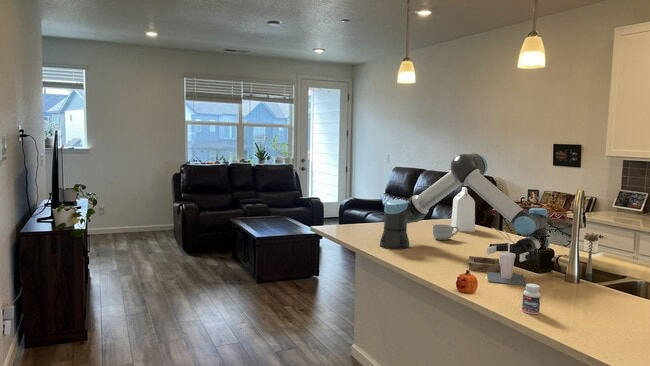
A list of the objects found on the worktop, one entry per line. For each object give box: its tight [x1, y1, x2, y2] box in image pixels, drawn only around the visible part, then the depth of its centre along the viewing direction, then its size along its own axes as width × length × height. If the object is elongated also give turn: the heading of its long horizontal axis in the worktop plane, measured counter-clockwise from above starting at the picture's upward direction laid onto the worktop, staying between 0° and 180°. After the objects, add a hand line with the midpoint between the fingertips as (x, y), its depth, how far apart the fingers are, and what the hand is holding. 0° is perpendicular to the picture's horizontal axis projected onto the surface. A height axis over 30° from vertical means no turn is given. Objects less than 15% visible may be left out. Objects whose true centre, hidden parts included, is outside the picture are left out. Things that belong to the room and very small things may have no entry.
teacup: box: [432, 223, 460, 241], centre depth 263 cm, size 14×11×8 cm
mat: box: [486, 271, 527, 287], centre depth 191 cm, size 14×14×1 cm
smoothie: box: [498, 242, 517, 279], centre depth 190 cm, size 6×6×14 cm
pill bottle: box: [521, 283, 541, 315], centre depth 155 cm, size 5×5×9 cm
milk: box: [450, 186, 476, 232], centre depth 293 cm, size 12×12×26 cm
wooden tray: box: [468, 255, 501, 273], centre depth 208 cm, size 12×12×3 cm
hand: (503, 254), depth 188 cm, fingers open, 13 cm apart
